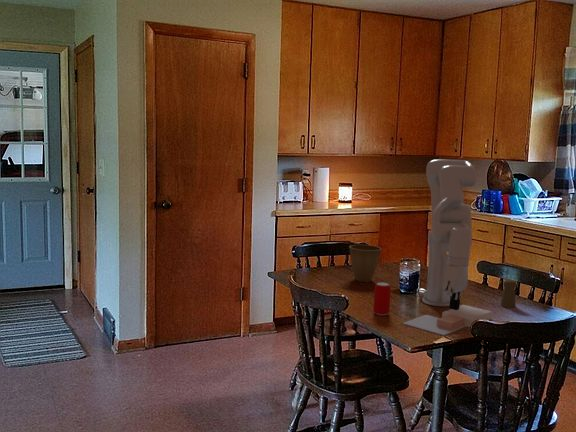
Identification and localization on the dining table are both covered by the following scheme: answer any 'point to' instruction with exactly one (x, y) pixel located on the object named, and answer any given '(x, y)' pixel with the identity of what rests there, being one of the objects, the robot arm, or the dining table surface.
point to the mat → (430, 325)
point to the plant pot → (364, 261)
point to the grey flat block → (468, 314)
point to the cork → (508, 294)
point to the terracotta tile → (450, 322)
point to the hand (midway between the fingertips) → (454, 308)
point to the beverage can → (382, 299)
